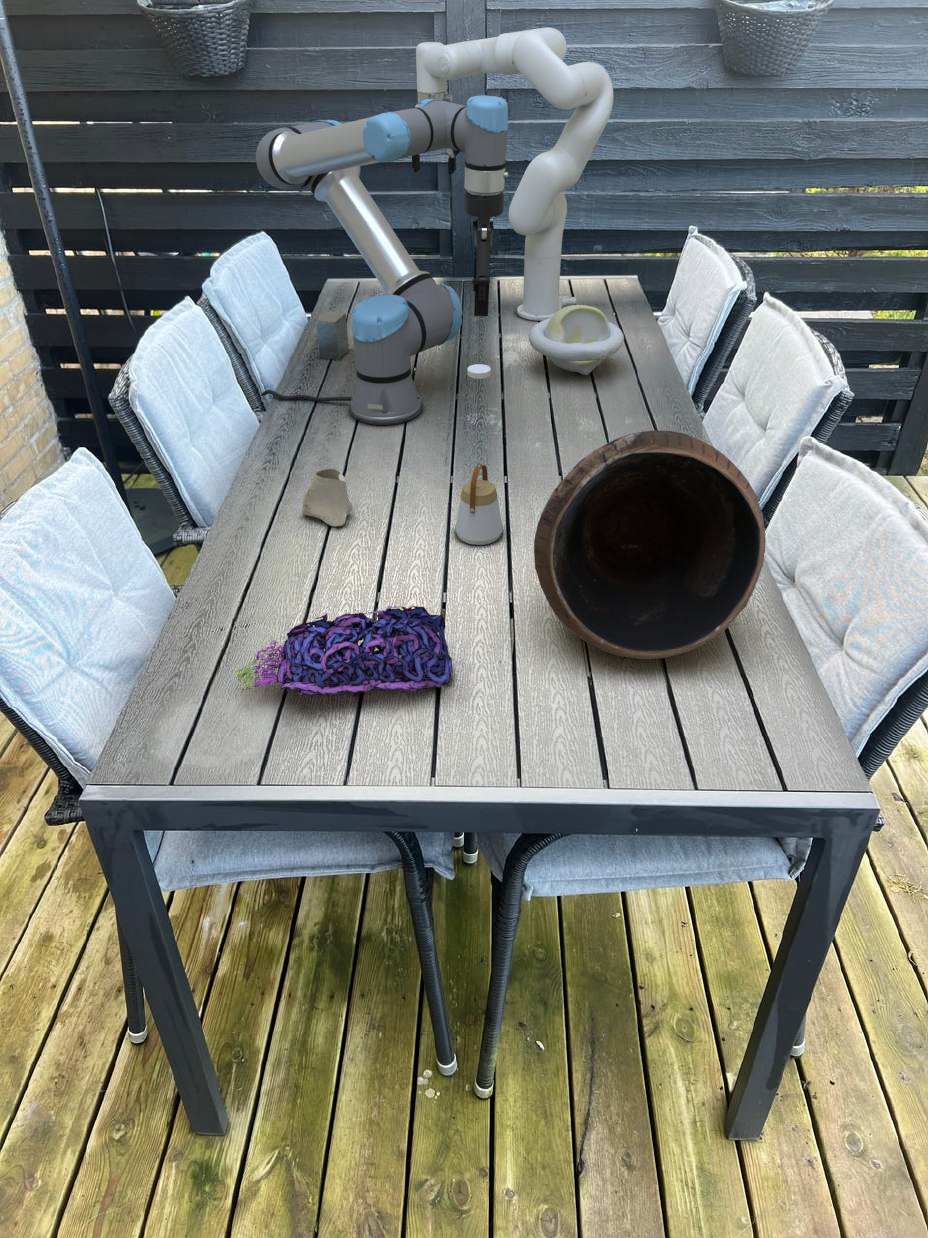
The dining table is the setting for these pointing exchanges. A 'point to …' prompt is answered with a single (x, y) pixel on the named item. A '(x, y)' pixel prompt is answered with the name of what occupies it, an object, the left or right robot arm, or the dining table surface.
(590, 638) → the pot
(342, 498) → the grey irregular lump
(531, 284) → the right robot arm
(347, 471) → the dining table surface
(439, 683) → the decorative ornament
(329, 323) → the brick
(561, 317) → the hat
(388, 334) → the left robot arm
